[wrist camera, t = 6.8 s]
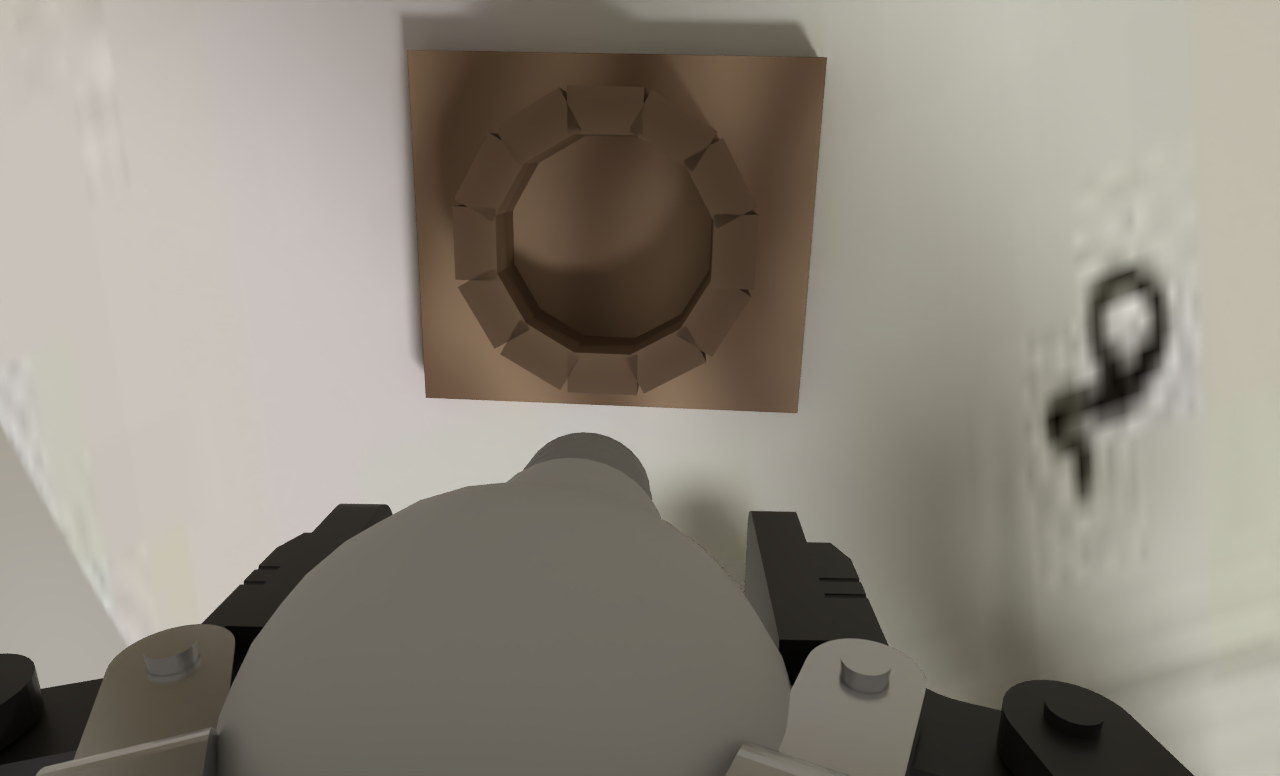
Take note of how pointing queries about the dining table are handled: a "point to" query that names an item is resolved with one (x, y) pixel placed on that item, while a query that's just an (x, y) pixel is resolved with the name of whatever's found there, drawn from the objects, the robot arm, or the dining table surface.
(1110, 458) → the dining table surface
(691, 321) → the lamp socket
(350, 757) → the lightbulb
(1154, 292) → the dining table surface
